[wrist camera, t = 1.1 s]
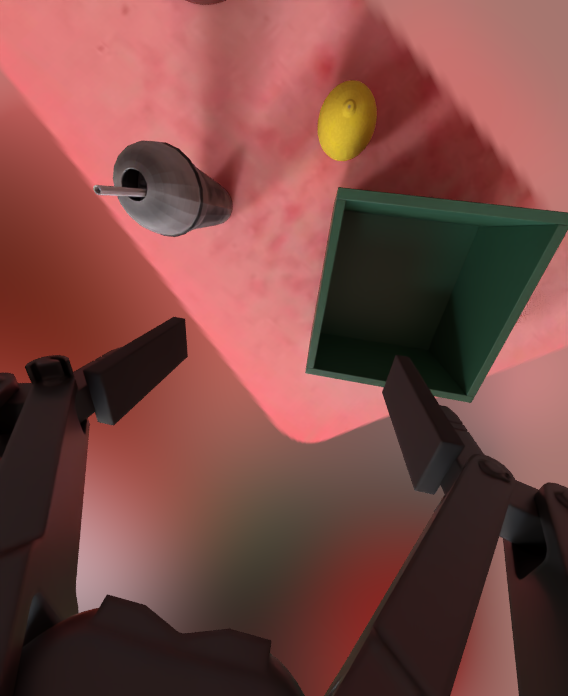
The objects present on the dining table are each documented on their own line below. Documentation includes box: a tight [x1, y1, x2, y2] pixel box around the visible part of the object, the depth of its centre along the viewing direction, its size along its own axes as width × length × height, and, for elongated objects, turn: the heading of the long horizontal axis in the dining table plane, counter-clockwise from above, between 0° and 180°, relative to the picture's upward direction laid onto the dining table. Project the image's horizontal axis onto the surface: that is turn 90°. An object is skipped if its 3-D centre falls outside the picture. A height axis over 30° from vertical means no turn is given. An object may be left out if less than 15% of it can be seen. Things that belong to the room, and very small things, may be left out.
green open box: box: [305, 187, 568, 403], centre depth 28 cm, size 18×18×12 cm
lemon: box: [318, 80, 377, 161], centre depth 24 cm, size 6×6×8 cm
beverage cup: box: [93, 141, 232, 237], centre depth 24 cm, size 7×7×20 cm
